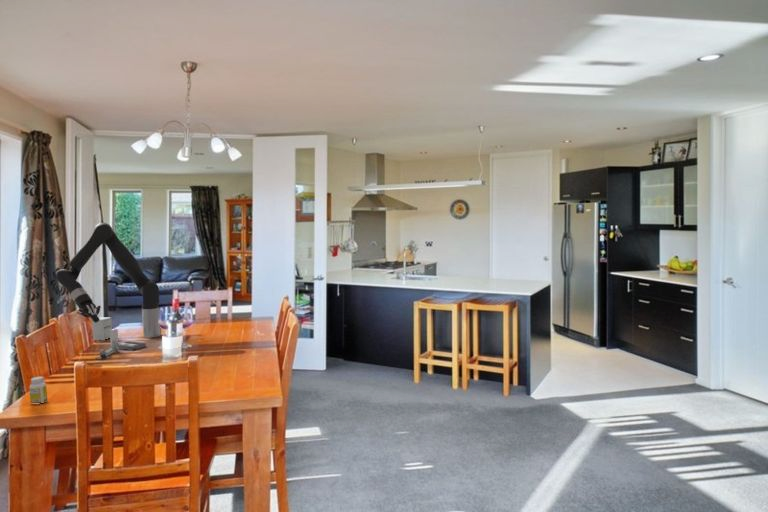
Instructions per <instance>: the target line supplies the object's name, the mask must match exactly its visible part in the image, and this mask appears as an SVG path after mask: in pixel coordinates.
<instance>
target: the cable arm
mask: <svg viewBox="0 0 768 512" xmlns="http://www.w3.org/2000/svg"><path fill="white" fill-rule="evenodd" d="M109 340H110V348H109V349H107V350H106V349H100V350H99V354H100V356H99V357H106V356H109V355H110V356H111V355H112V354H114V353H115V352H119V350H120V349H119V345H118V344H119V329H118V328H112V330H110V339H109Z"/></svg>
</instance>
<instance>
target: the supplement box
mask: <svg viewBox="0 0 768 512" xmlns="http://www.w3.org/2000/svg"><path fill="white" fill-rule="evenodd" d="M98 318H99V321H98V322H96V323H95V322H94V321H93V320H92V319H91V320H92V337H93V341H99V340H104V341H106V340H105V339H107V340H109V339H108V338H110V330H112V329H113V324H112V323H113V322H112V317H111V316H110V317H107V316H106V317H98ZM99 342H100V341H99Z"/></svg>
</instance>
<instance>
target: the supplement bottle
mask: <svg viewBox="0 0 768 512" xmlns="http://www.w3.org/2000/svg"><path fill="white" fill-rule="evenodd" d="M44 379H45V377H44V376H35V377H34V376H33V377H32V378H31V380H30V383H31V384H30V385H29V399H30V404H31V403H42V402H45V401H47V402H48V391H47V383H46V382H44Z"/></svg>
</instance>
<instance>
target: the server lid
mask: <svg viewBox="0 0 768 512" xmlns="http://www.w3.org/2000/svg"><path fill="white" fill-rule="evenodd" d="M118 345H119V348H120V349H119V350H123V349H128V350H127V351H131V350H132V351H135V350H134V349H136V350H140V349H143V348H146V347H147V344H146V343H145V342H138V341H133V340H132V341H129V340H127V341H124V342H118ZM139 348H140V349H139Z"/></svg>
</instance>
